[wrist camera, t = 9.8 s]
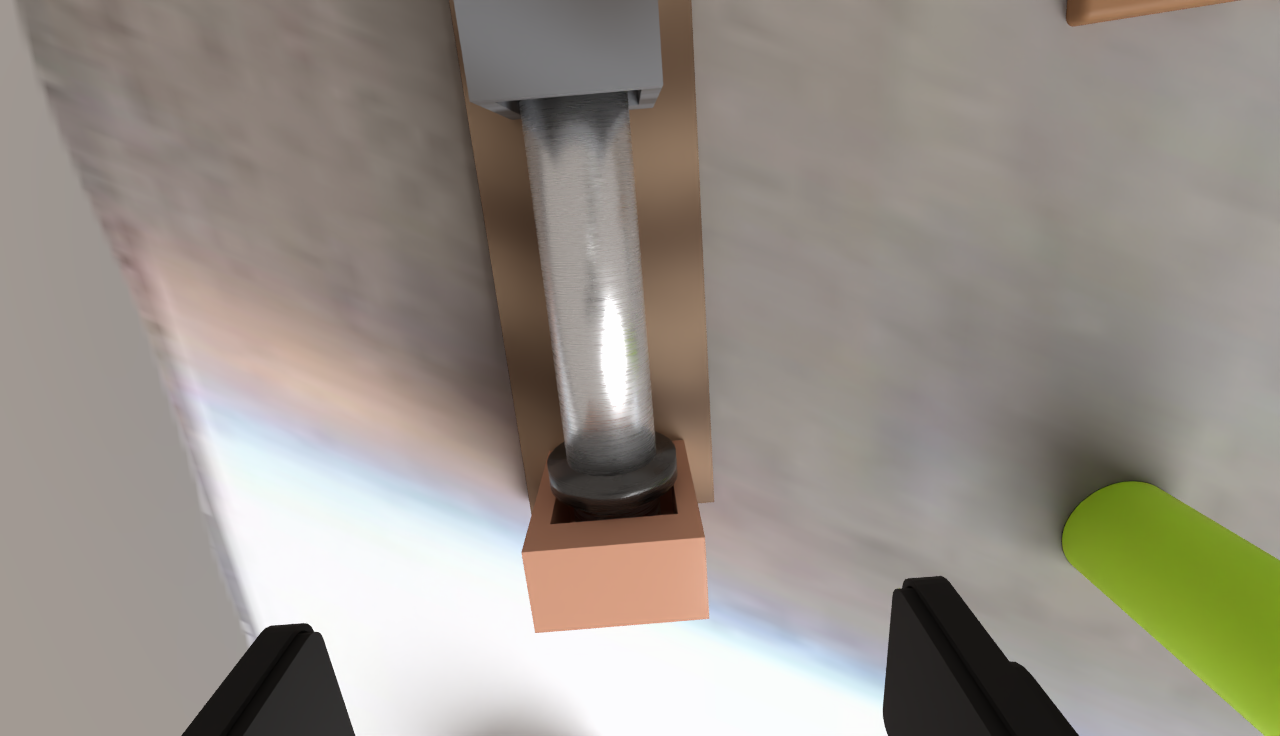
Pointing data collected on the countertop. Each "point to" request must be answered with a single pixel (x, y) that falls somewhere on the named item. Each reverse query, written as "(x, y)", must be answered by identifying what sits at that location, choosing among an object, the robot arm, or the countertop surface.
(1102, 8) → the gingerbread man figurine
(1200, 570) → the soap dispenser
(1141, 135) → the countertop surface
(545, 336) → the stand
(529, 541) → the socket block
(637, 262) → the steel tube
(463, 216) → the countertop surface
